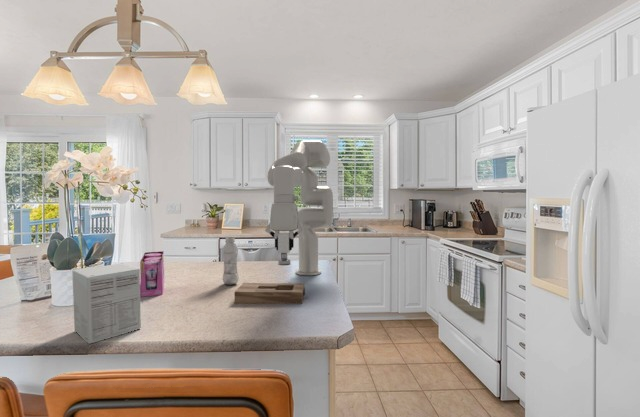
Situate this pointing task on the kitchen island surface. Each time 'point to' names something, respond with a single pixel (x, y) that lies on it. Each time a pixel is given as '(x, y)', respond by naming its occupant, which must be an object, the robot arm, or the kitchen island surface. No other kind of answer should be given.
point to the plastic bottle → (230, 262)
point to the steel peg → (283, 247)
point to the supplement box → (106, 301)
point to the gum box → (152, 274)
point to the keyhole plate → (270, 293)
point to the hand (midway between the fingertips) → (284, 249)
